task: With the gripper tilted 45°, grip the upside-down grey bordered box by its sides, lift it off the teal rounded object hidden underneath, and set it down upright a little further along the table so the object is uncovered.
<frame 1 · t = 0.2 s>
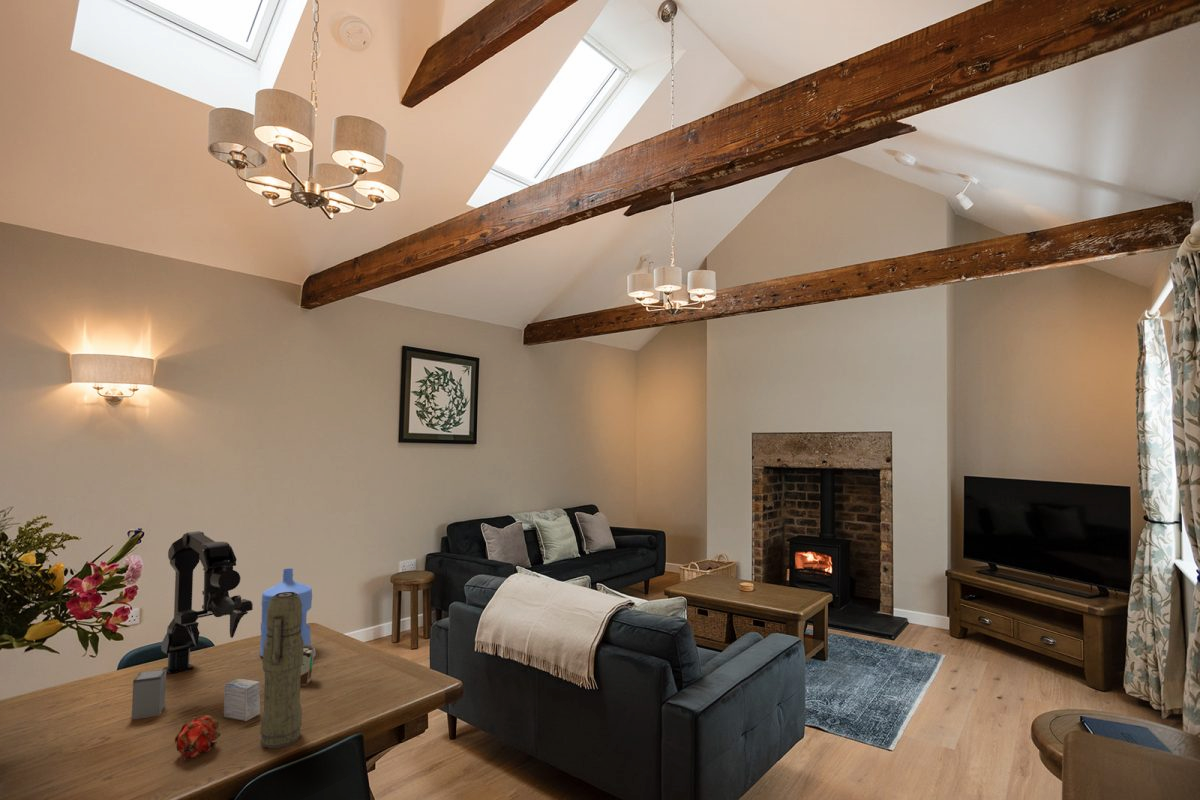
hand: (214, 641, 177), 14 cm above the table, tool pointing down, fingers open, 9 cm apart
teal rounded object: (148, 714, 163), on the table
water jug: (285, 652, 209), on the table
thermos: (280, 740, 149), on the table
medicine box: (241, 716, 161), on the table
food container: (298, 681, 185), on the table
grey bordered box: (148, 712, 163), on the table
dragon fruit: (196, 754, 142), on the table
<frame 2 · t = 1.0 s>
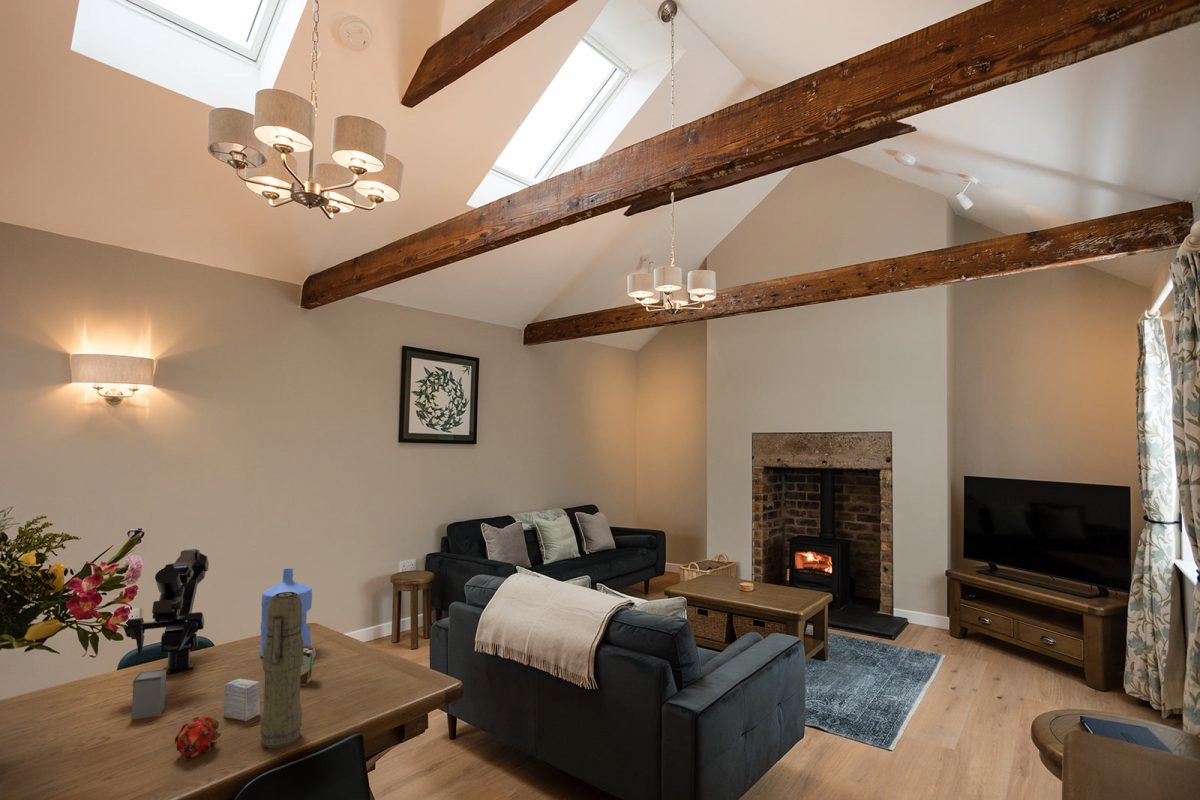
hand: (159, 652, 171), 13 cm above the table, tool tilted 45°, fingers open, 9 cm apart
nothing on the table moved.
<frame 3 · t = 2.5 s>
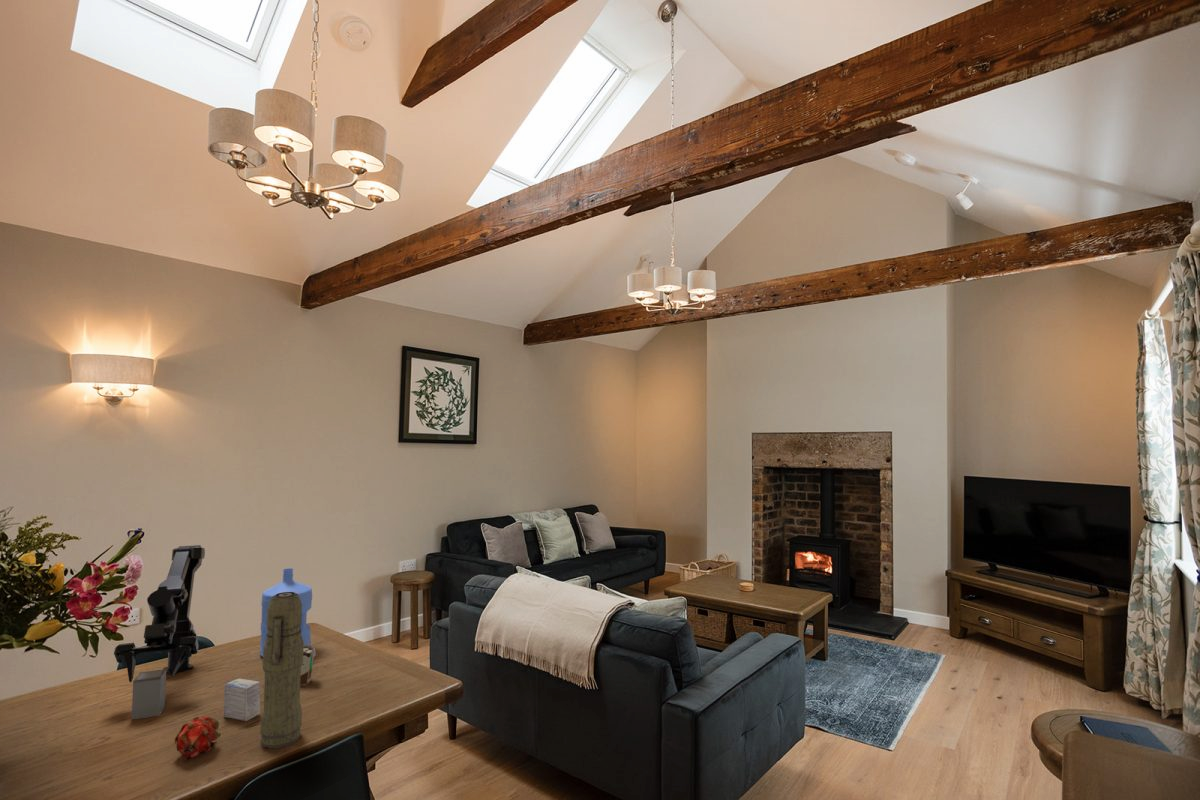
hand: (151, 678, 165), 9 cm above the table, tool tilted 45°, fingers open, 9 cm apart
nothing on the table moved.
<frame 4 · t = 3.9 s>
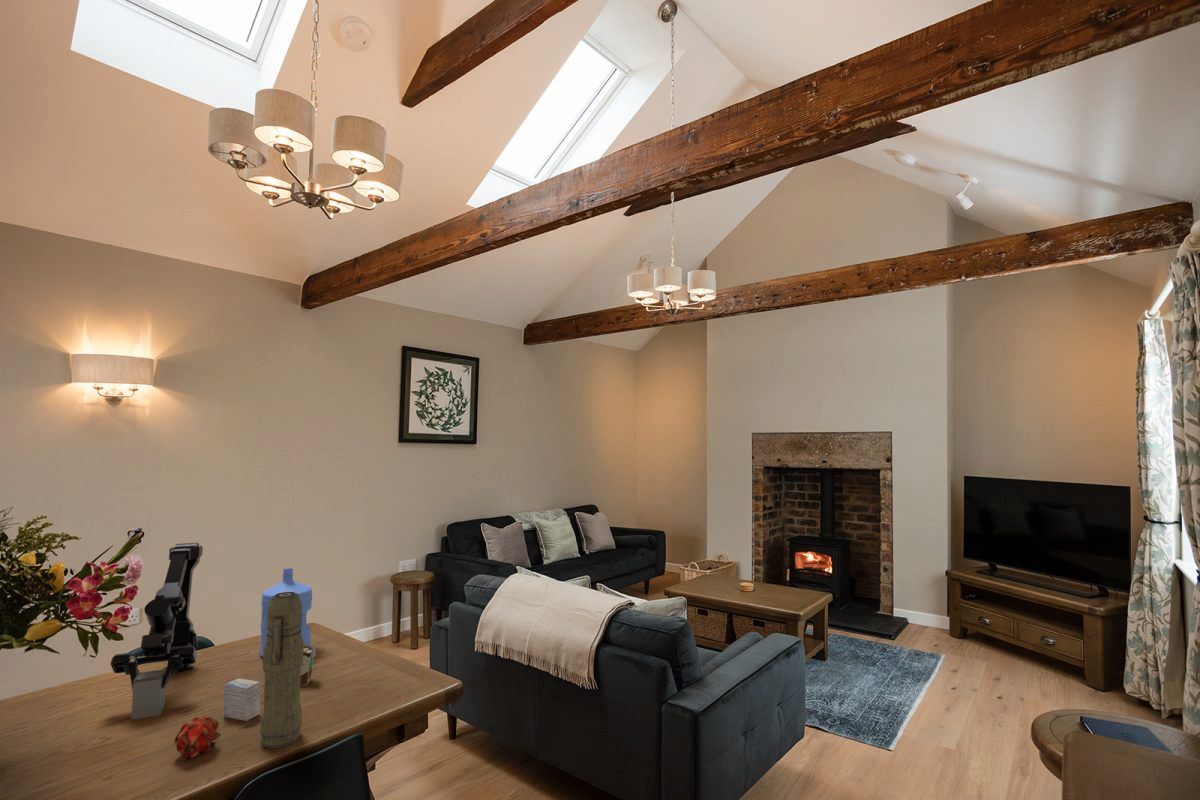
hand: (148, 689, 162), 7 cm above the table, tool tilted 45°, fingers closed on grey bordered box, 6 cm apart
grey bordered box: (148, 712, 163), on the table, touching gripper
everything else where it was.
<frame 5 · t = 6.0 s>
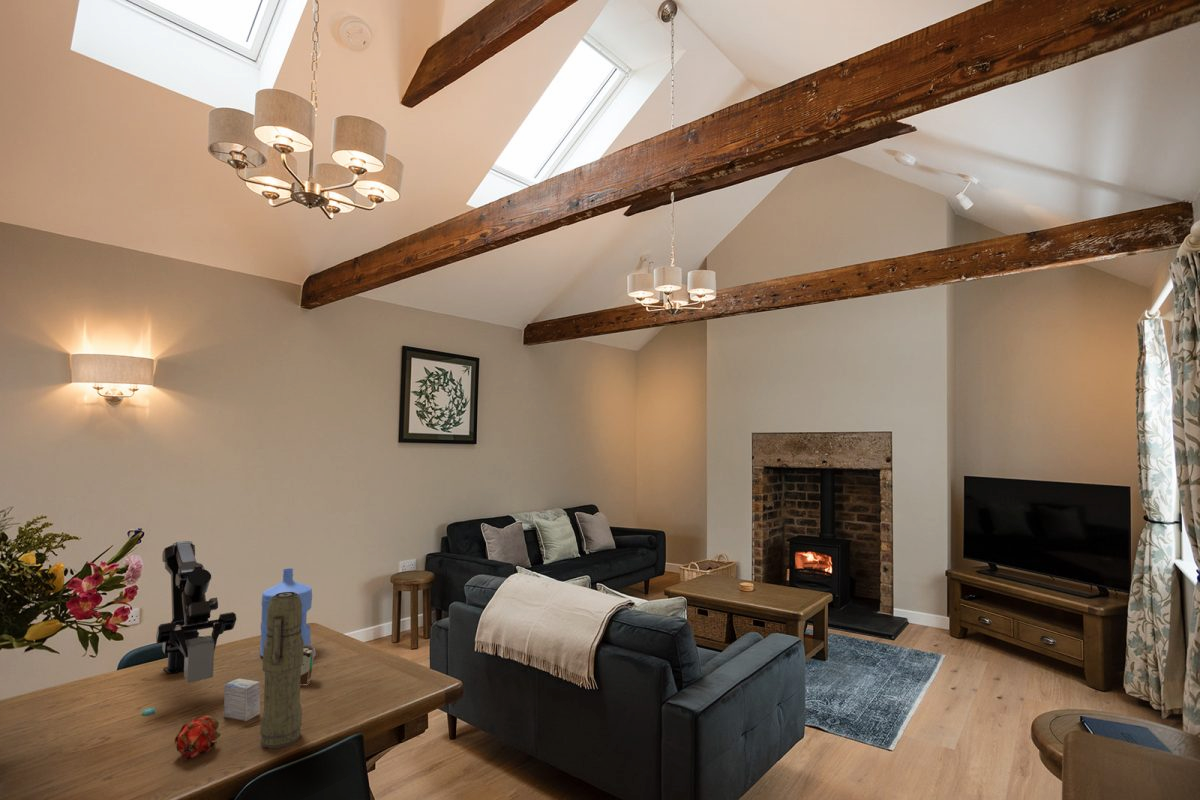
hand: (200, 654, 170), 13 cm above the table, tool tilted 45°, fingers closed on grey bordered box, 6 cm apart
grey bordered box: (198, 676, 170), point 7 cm above the table, touching gripper
everything else where it was.
when the fingers open (8 cm above the table, at t = 8.3 s): grey bordered box drops 1 cm, on the table.
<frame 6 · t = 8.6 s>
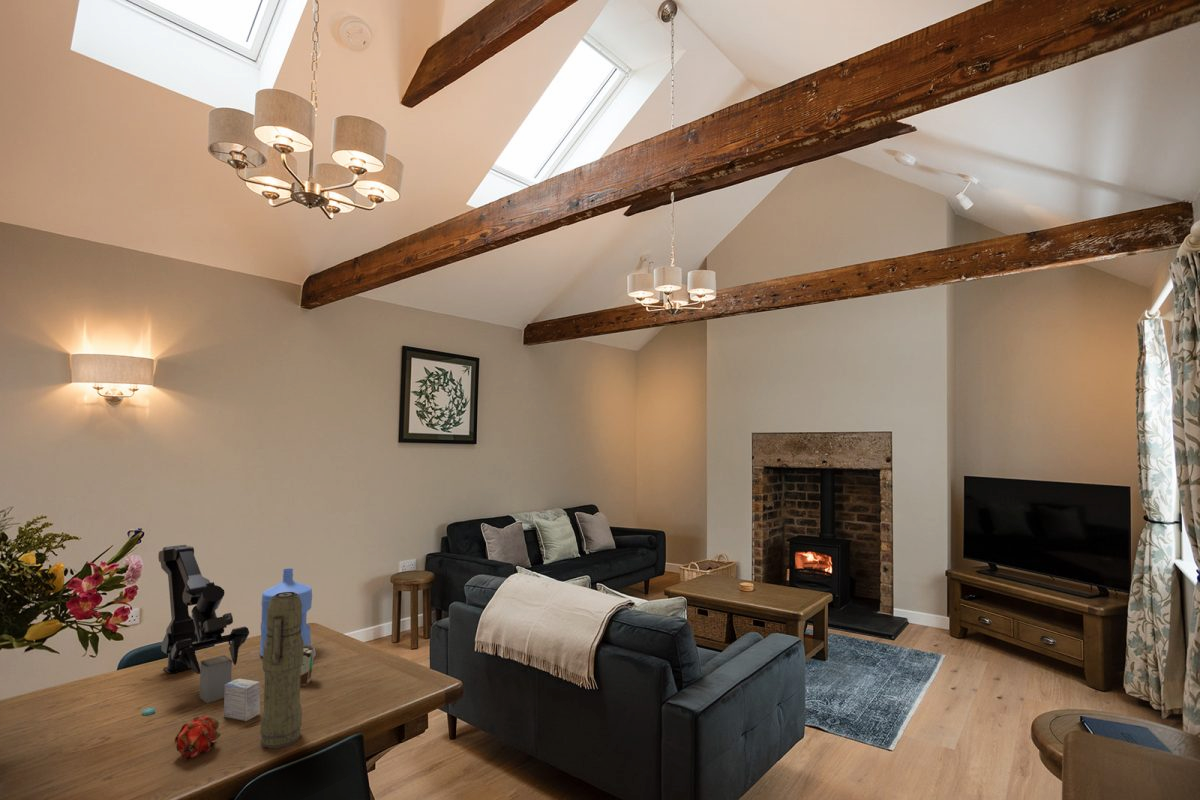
hand: (217, 668, 173), 8 cm above the table, tool tilted 45°, fingers open, 9 cm apart
grey bordered box: (215, 696, 173), on the table
everything else where it was.
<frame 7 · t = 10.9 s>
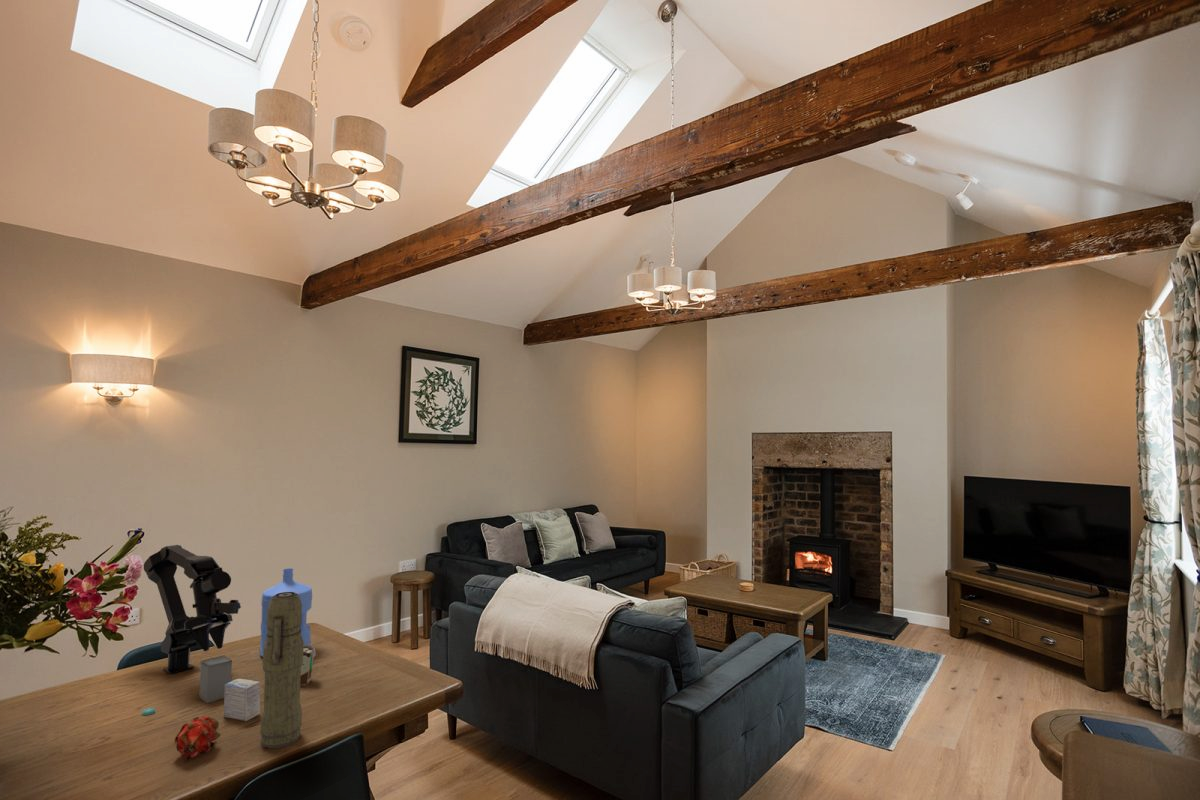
hand: (213, 649, 184), 10 cm above the table, tool tilted 20°, fingers open, 9 cm apart
nothing on the table moved.
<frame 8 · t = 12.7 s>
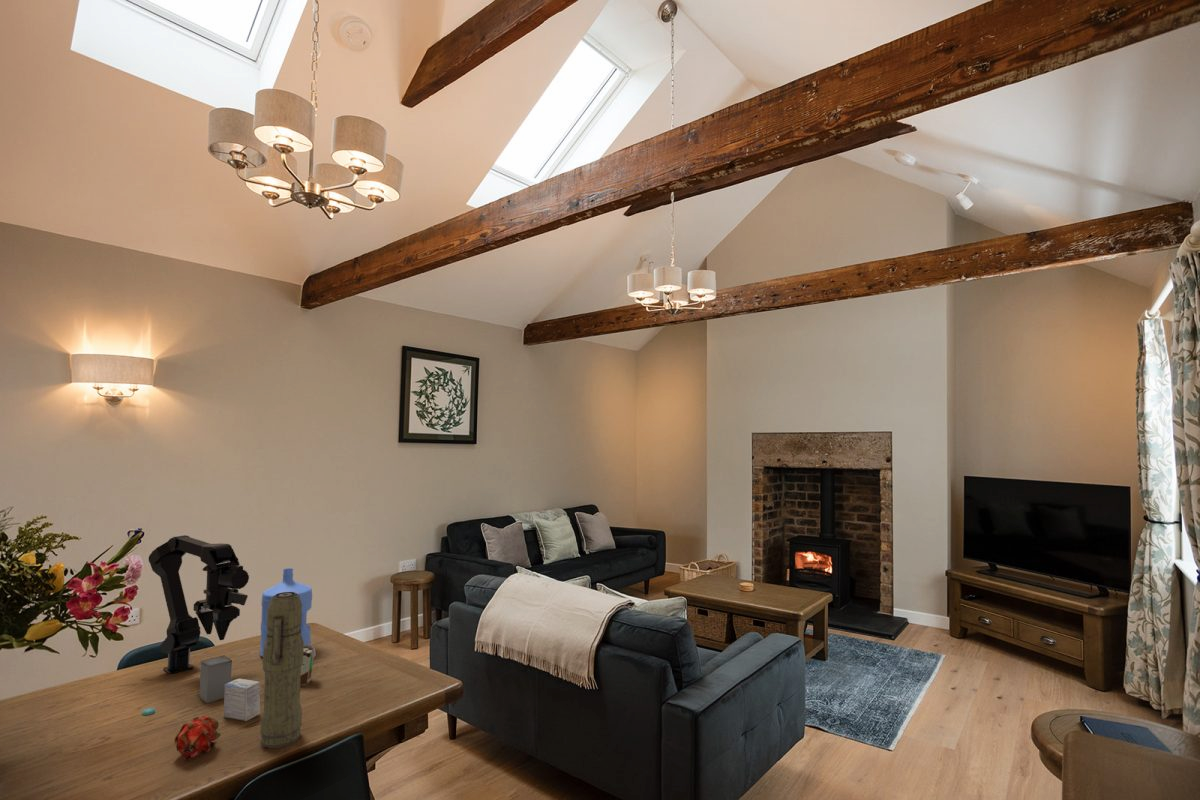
hand: (215, 637, 188), 12 cm above the table, tool pointing down, fingers open, 9 cm apart
nothing on the table moved.
at the end: grey bordered box inside the target area (0.0 cm from its centre), on the table; grey bordered box tilted 0°; the gripper is holding nothing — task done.
